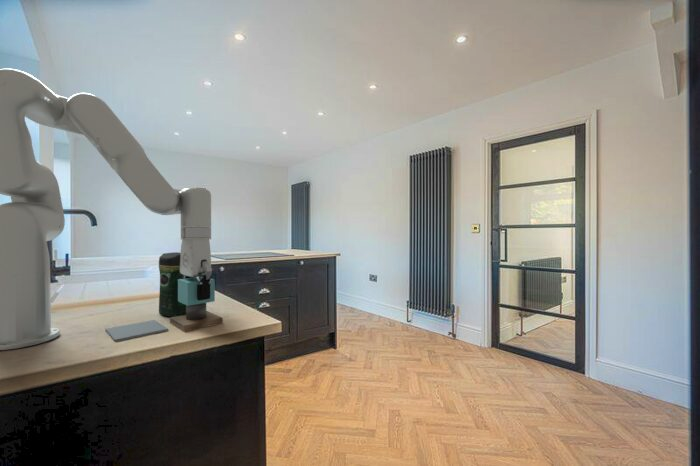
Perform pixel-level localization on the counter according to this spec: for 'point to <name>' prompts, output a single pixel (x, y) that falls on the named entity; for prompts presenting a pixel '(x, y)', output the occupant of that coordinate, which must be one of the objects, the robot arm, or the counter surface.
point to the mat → (135, 330)
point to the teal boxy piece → (193, 291)
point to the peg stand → (195, 318)
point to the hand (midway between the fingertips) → (196, 296)
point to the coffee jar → (170, 285)
